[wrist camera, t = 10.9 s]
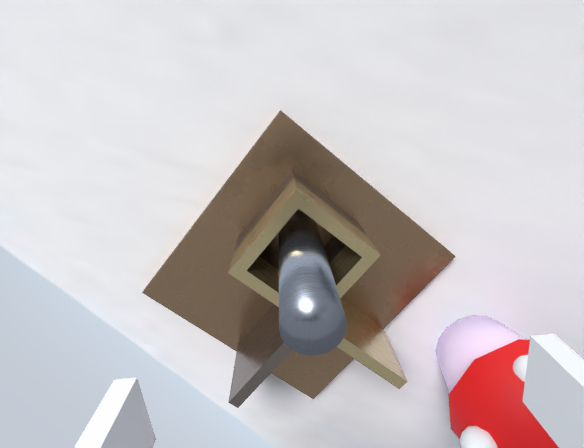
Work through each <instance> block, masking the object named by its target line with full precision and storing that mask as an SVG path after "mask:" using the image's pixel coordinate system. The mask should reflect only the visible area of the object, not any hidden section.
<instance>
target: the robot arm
mask: <svg viewBox="0 0 584 448" xmlns="http://www.w3.org/2000/svg"><path fill="white" fill-rule="evenodd" d="M523 403H524V404H525V405H526V406H527V408H528V409H529V410H530V412H531V413H532V414H533V415H534V417H535V418H536V419H537V420H538V422H539V423H540V424H541V425H542V427H543V428H544V429H545V431H546V432H547V433H548V434H549V436H550V437H551V438H552V439H553V441H554V442H555V443H556V444H557V446H558V447H559V448H584V359H583V358H581V357H580V356H579V355H578V354H577V353H576V352H575V351H573V350H572V349H571V348H570V347H569V346H568V345H566V344H565V343H564V342H563V341H562V340H561V339H560V338H558V337H557V336H556V335H555V334H554V333H553V334H544V335H534V336H530V344H529V352H528V360H527V368H526V377H525V385H524V393H523ZM155 440H156V438H155V435H154V432H153V429H152V426H151V422H150V419H149V415H148V412H147V409H146V406H145V402H144V399H143V396H142V392H141V389H140V386H139V383H138V379H137V378H127V379H118V380H114V381H113V383H112V385H111V386H110V388H109V390H108V391H107V393H106V395H105V396H104V398H103V400H102V401H101V403H100V405H99V406H98V408H97V410H96V411H95V413H94V415H93V417H92V418H91V420H90V422H89V423H88V425H87V427H86V428H85V430H84V432H83V433H82V435H81V437H80V438H79V440H78V442H77V444H76V445H75V447H74V448H153V445H154V443H155Z"/></svg>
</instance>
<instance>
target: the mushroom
mask: <svg viewBox="0 0 584 448" xmlns="http://www.w3.org/2000/svg"><path fill="white" fill-rule="evenodd" d="M529 344H530V340H526V339H524V338H523V337H521V336H520V335H518V334H517V333H515V332H514V331H512V330H511V329H509V328H507V327H506V326H504V325H503V324H501V323H500V322H498V321H496V320H494V319H492V318H490V317H488V316H478V315H472V316H469V317H465V318H462V319H459V320H457V321H456V322H454V323H453V324H451V325H450V326H448V327H447V328H446V329H445V331H444V332H443V333H442V335H441V336H440V337H439V339H438V343H437V348H436V353H437V358H438V362H439V365H440V368H441V370H442V373H443V376H444V379H445V382H446V384H447V387H448V390H449V407H450V422H451V429H452V431H453V432H454V433H455V434H456V435H457V436H458V437H459V439H460V444H461V448H559V447H558V446H557V444H556V443H555V442H554V441H553V439H552V438H551V437H550V436H549V434H548V433H547V432H546V431H545V429H544V428H543V427H542V425H541V424H540V423H539V422H538V420H537V419H536V418H535V417H534V415H533V414H532V413H531V412H530V410H529V409H528V408H527V406H526V405H525V404H524V403H523V393H524V385H525V377H526V368H527V360H528V352H529Z"/></svg>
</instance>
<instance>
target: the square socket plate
mask: <svg viewBox="0 0 584 448" xmlns="http://www.w3.org/2000/svg"><path fill="white" fill-rule="evenodd" d="M297 210H301V211H302V212H304V213H305V214H306V215H308V216H309V217H310V218H312V219H313V220H314V221H315V222H316V223H317V226H318V229H319V233H320V236H321V239H322V242H323V246H324V249H325V252H326V255H327V258H328V262H329V265H330V268H331V271H332V275H333V278H334V281H335V284H336V288H337V291H338V294H339V297H340V300H341V304H342V307H343V310H344V313H345V317H346V320H347V330H346V334H345V336H344V338H343V340H342V341H341V342H340V344H339V345H338V346H337V347H335V348H334V349H333V350H331V351H329V352H327V353H324V354H321V355H312V356H311V355H303V354H299V353H297V352H295V351H293V350H291V349H290V348H289V347H288V346H287V345H286V344H285V343H284V342H283V340H282V338H281V336H280V332H279V231H280V230H281V229H282V228H283V226H284V225H285V224H286V223H287V222H288V220H289V219H290V218H291V217H292V216H293V214H294V213H295V212H296V211H297ZM454 257H455V256H454V255H453V254H452V253H451V252H450V251H449V250H447V249H446V248H445V247H444V246H443V245H441V244H440V243H439V242H438V241H437V240H435V239H434V238H433V237H432V236H431V235H429V234H428V233H427V232H426V231H425V230H423V229H422V228H421V227H420V226H419V225H417V224H416V223H415V222H414V221H413V220H411V219H410V218H409V217H408V216H407V215H405V214H404V213H403V212H402V211H401V210H399V209H398V208H397V207H396V206H395V205H393V204H392V203H391V202H390V201H389V200H387V199H386V198H385V197H384V196H383V195H381V194H380V193H379V192H378V191H377V190H375V189H374V188H373V187H372V186H371V185H369V184H368V183H367V182H366V181H365V180H363V179H362V178H361V177H360V176H359V175H357V174H356V173H355V172H354V171H353V170H351V169H350V168H349V167H348V166H347V165H345V164H344V163H343V162H342V161H341V160H340V159H338V158H337V157H336V156H335V155H334V154H332V153H331V152H330V151H329V150H328V149H326V148H325V147H324V146H323V145H322V144H320V143H319V142H318V141H317V140H316V139H314V138H313V137H312V136H311V135H310V134H308V133H307V132H306V131H305V130H304V129H302V128H301V127H300V126H299V125H298V124H296V123H295V122H294V121H293V120H292V119H290V118H289V117H288V116H287V115H286V114H284V113H283V112H282V111H281V110H280V111H279V113H278V114H277V115H276V117H275V118H274V119H273V121H272V122H271V123H270V125H269V126H268V127H267V129H266V130H265V131H264V132H263V134H262V135H261V136H260V138H259V139H258V140H257V142H256V143H255V144H254V146H253V147H252V148H251V150H250V151H249V152H248V154H247V155H246V156H245V158H244V159H243V160H242V161H241V163H240V164H239V165H238V167H237V168H236V169H235V171H234V172H233V173H232V175H231V176H230V177H229V179H228V180H227V181H226V183H225V184H224V185H223V186H222V188H221V189H220V190H219V192H218V193H217V194H216V196H215V197H214V198H213V200H212V201H211V202H210V204H209V205H208V206H207V208H206V209H205V210H204V211H203V213H202V214H201V215H200V217H199V218H198V219H197V221H196V222H195V223H194V225H193V226H192V227H191V229H190V230H189V231H188V233H187V234H186V235H185V237H184V238H183V239H182V240H181V242H180V243H179V244H178V246H177V247H176V248H175V250H174V251H173V252H172V254H171V255H170V256H169V258H168V259H167V260H166V262H165V263H164V264H163V265H162V267H161V268H160V269H159V271H158V272H157V273H156V275H155V276H154V277H153V279H152V280H151V281H150V283H149V284H148V285H147V287H146V288H145V289H144V291H143V292H142V293H144V294H146V295H147V296H149V297H150V298H152V299H154V300H155V301H157V302H158V303H160V304H162V305H163V306H165V307H166V308H168V309H170V310H171V311H173V312H174V313H176V314H178V315H179V316H181V317H182V318H184V319H186V320H187V321H189V322H190V323H192V324H194V325H195V326H197V327H198V328H200V329H202V330H203V331H205V332H206V333H208V334H210V335H211V336H213V337H215V338H216V339H218V340H219V341H221V342H223V343H224V344H226V345H227V346H229V347H231V348H232V349H234V350H235V351H237V353H236V360H235V366H234V372H233V378H232V385H231V391H230V397H229V403H231V404H232V405H234V406H236V407H237V408H238V407H239V406H240V405H241V404H242V403H243V402H244V401H245V400H246V399H247V398H248V397H249V396H250V395H251V393H252V392H253V391H254V390H255V389H256V388H257V387H258V386H259V385H260V384H261V383H262V382H263V381H264V380H265V379H266V377H267V376H268V375H269V374H270V373H272V374H274V375H275V376H277V377H279V378H280V379H282V380H284V381H285V382H287V383H288V384H290V385H292V386H293V387H295V388H296V389H298V390H300V391H301V392H303V393H304V394H306V395H308V396H309V397H311V398H312V399H314V398H315V397H316V396H317V395H318V394H319V393H320V392H321V391H322V390H323V389H324V388H325V387H326V386H327V385H328V384H329V383H330V382H331V381H332V380H333V379H334V378H335V377H336V376H337V375H338V374H339V373H340V372H341V371H342V370H343V369H344V368H345V367H346V366H347V365H348V364H349V363H350V362H351V360H352V359H353V358H354V359H356V360H357V361H359V362H360V363H362V364H363V365H365V366H366V367H368V368H369V369H370V370H372V371H373V372H375V373H376V374H378V375H379V376H381V377H382V378H384V379H385V380H387V381H388V382H390V383H391V384H393V385H394V386H396V387H397V388H398V389H400V388H401V387H402V386H403V385H404V384H405V383H406V382H407V380H406V378H405V375H404V373H403V371H402V369H401V367H400V365H399V362H398V360H397V358H396V356H395V354H394V352H393V350H392V347H391V345H390V343H389V341H388V339H387V337H386V334H385V332H384V330H383V328H384V327H385V326H386V325H387V324H388V323H389V322H390V321H391V320H392V319H393V318H394V317H395V316H396V315H397V314H398V313H399V312H400V311H401V310H402V309H403V308H404V307H405V306H406V305H407V304H408V303H409V302H410V301H411V300H412V299H413V298H414V297H415V296H416V295H417V294H418V293H419V292H420V291H421V290H422V289H423V288H424V287H425V286H426V285H427V284H428V283H429V282H430V281H431V280H432V279H433V278H434V277H435V276H436V275H437V274H438V273H439V272H440V271H441V270H442V269H443V268H444V267H445V266H446V265H447V264H448V263H449V262H450V261H451V260H452V259H453V258H454Z"/></svg>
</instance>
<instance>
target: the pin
mask: <svg viewBox="0 0 584 448" xmlns="http://www.w3.org/2000/svg"><path fill="white" fill-rule="evenodd" d="M346 330H347V320H346V317H345V313H344V310H343V307H342V304H341V300H340V297H339V294H338V291H337V288H336V284H335V281H334V278H333V275H332V271H331V268H330V265H329V262H328V258H327V255H326V252H325V249H324V246H323V242H322V239H321V236H320V233H319V229H318V226H317V223H316V222H315V221H314V220H313V219H312V218H310V217H309V216H308V215H306V214H305V213H304V212H302V211H301V210H297V211H296V212H295V213H294V214H293V216H292V217H291V218H290V219H289V220H288V222H287V223H286V224H285V225H284V226H283V228H282V229H281V230H280V231H279V332H280V336H281V338H282V340H283V342H284V343H285V344H286V345H287V346H288V347H289V348H290V349H291V350H293V351H295V352H297V353H299V354H303V355H311V356H312V355H321V354H324V353H327V352H329V351H331V350H333V349H334V348H335V347H337V346H338V345H339V344H340V342H341V341H342V340H343V338H344V336H345V334H346Z"/></svg>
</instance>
